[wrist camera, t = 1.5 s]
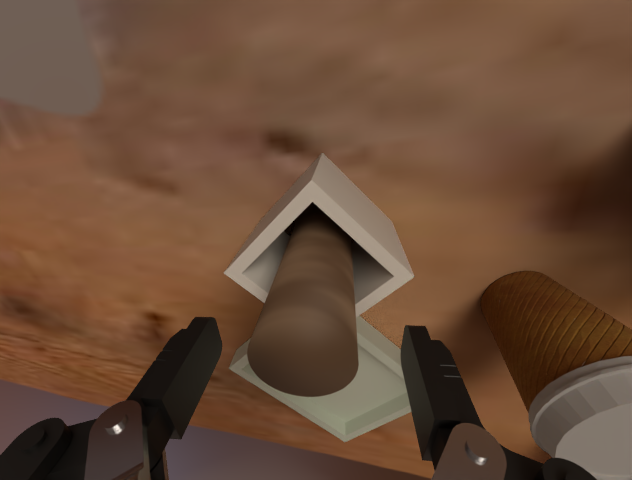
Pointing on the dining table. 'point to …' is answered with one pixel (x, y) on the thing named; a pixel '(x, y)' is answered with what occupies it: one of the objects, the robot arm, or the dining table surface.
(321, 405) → the sage tray
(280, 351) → the walnut dowel
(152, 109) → the dining table surface
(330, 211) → the ceramic holder
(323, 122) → the dining table surface
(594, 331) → the disposable coffee cup
